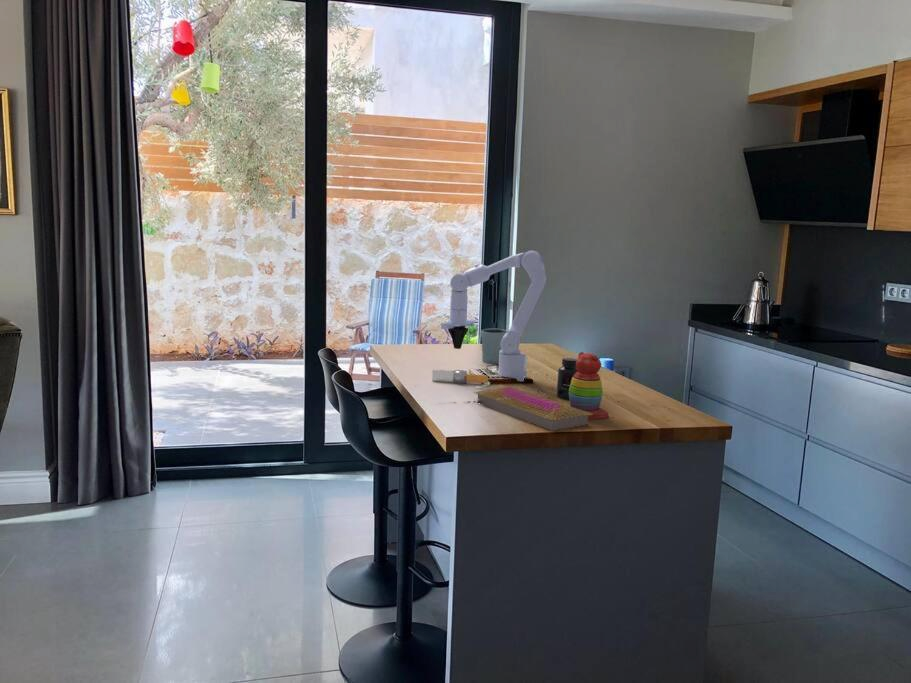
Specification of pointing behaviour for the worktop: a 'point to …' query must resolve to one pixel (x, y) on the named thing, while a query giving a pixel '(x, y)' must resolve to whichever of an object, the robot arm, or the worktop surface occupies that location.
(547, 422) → the rafter model
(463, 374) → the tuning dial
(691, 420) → the worktop surface
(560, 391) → the supplement bottle
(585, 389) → the stacking bear
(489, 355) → the grey cylinder
